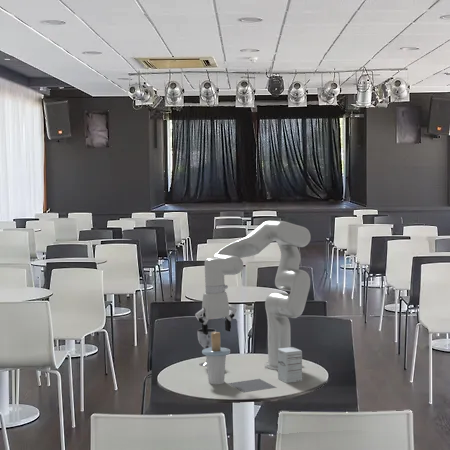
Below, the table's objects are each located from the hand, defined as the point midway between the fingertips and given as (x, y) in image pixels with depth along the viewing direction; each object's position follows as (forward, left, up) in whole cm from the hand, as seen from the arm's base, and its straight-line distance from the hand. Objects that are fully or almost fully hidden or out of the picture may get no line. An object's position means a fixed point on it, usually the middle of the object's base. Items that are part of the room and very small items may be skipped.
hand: (216, 332), depth 305 cm
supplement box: (-26, +11, -20) cm, 35 cm away
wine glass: (-8, -29, -20) cm, 36 cm away
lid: (+1, 0, -8) cm, 8 cm away
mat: (-9, +11, -20) cm, 25 cm away
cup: (+1, 0, -20) cm, 20 cm away
